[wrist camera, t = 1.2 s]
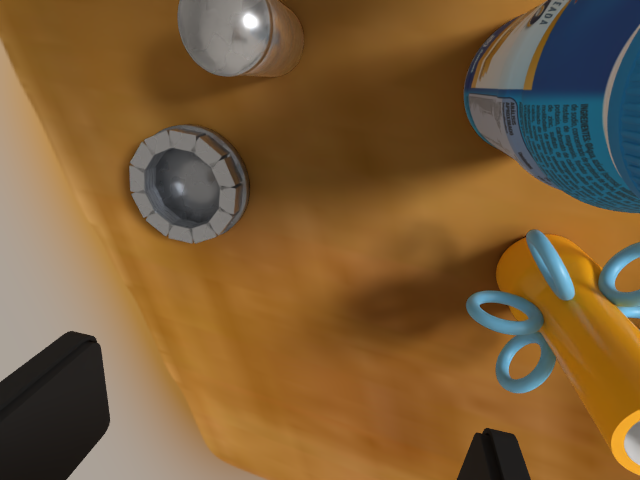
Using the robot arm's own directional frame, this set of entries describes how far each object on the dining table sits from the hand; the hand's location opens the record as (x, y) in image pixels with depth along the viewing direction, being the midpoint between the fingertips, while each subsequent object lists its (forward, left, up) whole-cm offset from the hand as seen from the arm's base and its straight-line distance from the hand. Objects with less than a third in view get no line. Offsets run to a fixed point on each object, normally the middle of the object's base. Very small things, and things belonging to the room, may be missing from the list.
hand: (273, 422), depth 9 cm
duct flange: (+2, -13, -21) cm, 25 cm away
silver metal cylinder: (-9, -8, -21) cm, 24 cm away
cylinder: (+3, +14, -21) cm, 26 cm away
